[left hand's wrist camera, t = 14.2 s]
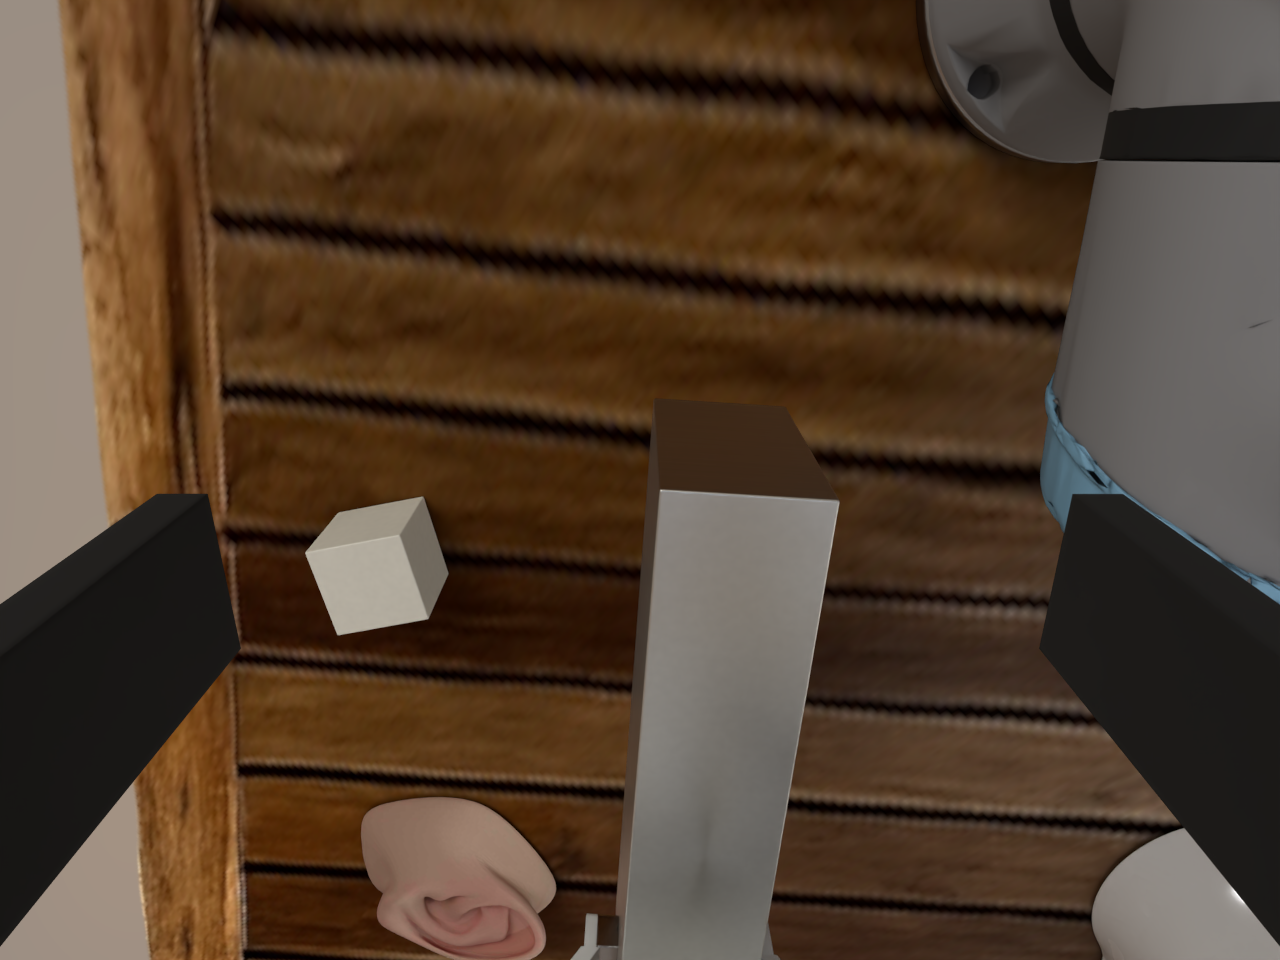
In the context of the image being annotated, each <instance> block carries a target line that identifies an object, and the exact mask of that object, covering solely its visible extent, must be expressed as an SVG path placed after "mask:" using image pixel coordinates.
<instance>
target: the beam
mask: <svg viewBox="0 0 1280 960" xmlns="http://www.w3.org/2000/svg"><path fill="white" fill-rule="evenodd" d="M838 507H839V499H838V498H837V496H836V494H835V492H834V491H833V489H832V487H831V485H830V484H829V482H828V480H827V478H826V477H825V475H824V473H823V472H822V470H821V468H820V466H819V465H818V463H817V461H816V459H815V458H814V456H813V454H812V452H811V451H810V449H809V447H808V445H807V444H806V442H805V440H804V439H803V437H802V435H801V433H800V432H799V430H798V428H797V426H796V425H795V423H794V421H793V419H792V418H791V416H790V414H789V413H788V411H787V409H786V407H782V406H766V405H751V404H735V403H719V402H703V401H687V400H671V399H654V403H653V417H652V430H651V444H650V457H649V470H648V484H647V497H646V511H645V524H644V537H643V551H642V564H641V578H640V591H639V605H638V618H637V631H636V645H635V658H634V672H633V685H632V698H631V712H630V725H629V739H628V752H627V766H626V779H625V792H624V806H623V819H622V833H621V846H620V859H619V873H618V886H617V900H616V915H617V916H619V929H618V932H619V937H618V957H617V960H761V958H762V952H763V946H764V940H765V934H766V928H767V923H768V917H769V911H770V905H771V899H772V893H773V888H774V882H775V876H776V870H777V864H778V858H779V852H780V847H781V841H782V835H783V829H784V823H785V817H786V812H787V806H788V800H789V794H790V788H791V782H792V776H793V771H794V765H795V759H796V753H797V747H798V741H799V735H800V730H801V724H802V718H803V712H804V706H805V700H806V695H807V689H808V683H809V677H810V671H811V665H812V659H813V654H814V648H815V642H816V636H817V630H818V624H819V619H820V613H821V607H822V601H823V595H824V589H825V583H826V578H827V572H828V566H829V560H830V554H831V548H832V543H833V537H834V531H835V525H836V519H837V513H838Z"/></svg>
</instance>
